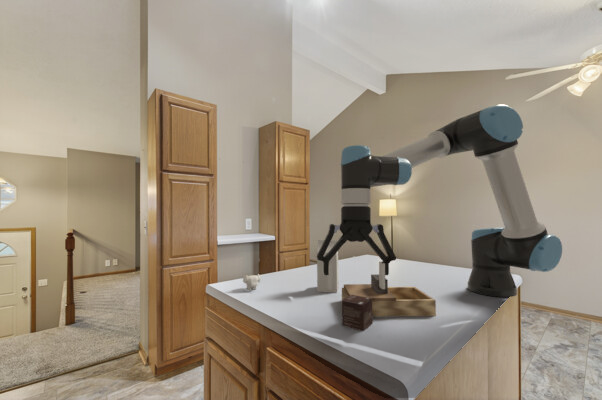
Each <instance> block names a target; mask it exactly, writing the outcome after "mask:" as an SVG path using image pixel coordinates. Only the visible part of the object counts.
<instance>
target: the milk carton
mask: <svg viewBox="0 0 602 400" xmlns="http://www.w3.org/2000/svg"><path fill="white" fill-rule="evenodd" d="M324 240H325V239H324ZM324 240H323V239H320V240H318V242H317V243H318V244H317V249H316V255H317V254H318V252H319V250H320V248H321V246H322V244H323V242H324ZM337 241H338V240H332V239H331V241H330V243H329V245H328V247H327V249H326V251H325V253H324V255H323V256H326V254H327V253H328V252H329V251H330V250H331V249H332V247H333V246H334V245H335V244H336V243H337ZM330 262H331V263H332V289H329V288H328V275H325V274H324V263H323V261H320V260H318V259H317V258H316V273H317V274H316V279H317V280H316V283H317V288H316V289H317V292H318V293H338V291H339V250H338V251H337V252H336V254H335V255H334V256H333V257H332V258H331V260H330Z"/></svg>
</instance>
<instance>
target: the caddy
mask: <svg viewBox="0 0 602 400" xmlns="http://www.w3.org/2000/svg"><path fill="white" fill-rule="evenodd" d="M388 291H389V292H390V293H391V294H392V295H394V296H395V297H396V301H372V317H425V316H427V317H429V316H431V317H434V316H435V317H436V315H437V313H436V312H437V310H436V309H437V308H436V306H437V305H436V303H437V302H436V299H435V298H433V297H431V296H430V295H429V294H427V293H425V292H423V291H422V290H420V289H419V288H418V287H416V286H388ZM347 297H349V295H348V293H347V292H346V290H345V288H344V287H341V301H342V300H343V299H345V298H347Z"/></svg>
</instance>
